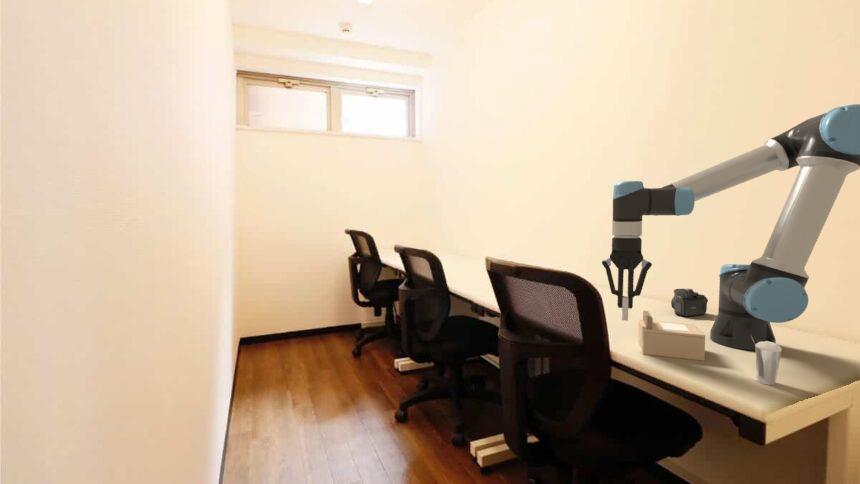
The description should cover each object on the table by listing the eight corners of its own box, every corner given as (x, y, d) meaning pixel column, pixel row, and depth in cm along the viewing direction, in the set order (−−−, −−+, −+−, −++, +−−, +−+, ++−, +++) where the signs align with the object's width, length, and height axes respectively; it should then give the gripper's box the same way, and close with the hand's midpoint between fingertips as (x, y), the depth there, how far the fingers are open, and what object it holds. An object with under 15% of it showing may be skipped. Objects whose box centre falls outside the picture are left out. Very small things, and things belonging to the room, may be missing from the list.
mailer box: (693, 347, 114) (694, 326, 113) (704, 360, 103) (705, 337, 103) (638, 341, 119) (638, 321, 118) (643, 354, 109) (643, 332, 108)
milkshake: (749, 375, 94) (751, 333, 93) (779, 381, 91) (781, 338, 90) (748, 381, 90) (750, 338, 90) (780, 388, 87) (782, 343, 86)
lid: (694, 326, 113) (695, 313, 113) (705, 337, 103) (705, 323, 103) (638, 321, 118) (639, 309, 118) (643, 331, 108) (644, 318, 108)
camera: (679, 309, 159) (680, 284, 158) (708, 314, 151) (710, 287, 150) (665, 314, 150) (666, 288, 149) (696, 320, 142) (697, 292, 142)
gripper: (650, 236, 114) (648, 317, 116) (601, 235, 119) (599, 314, 120) (655, 237, 107) (652, 324, 109) (602, 237, 112) (600, 320, 114)
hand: (624, 319), depth 115 cm, fingers closed
